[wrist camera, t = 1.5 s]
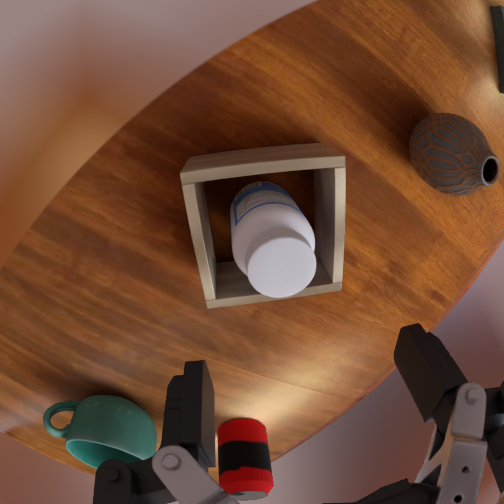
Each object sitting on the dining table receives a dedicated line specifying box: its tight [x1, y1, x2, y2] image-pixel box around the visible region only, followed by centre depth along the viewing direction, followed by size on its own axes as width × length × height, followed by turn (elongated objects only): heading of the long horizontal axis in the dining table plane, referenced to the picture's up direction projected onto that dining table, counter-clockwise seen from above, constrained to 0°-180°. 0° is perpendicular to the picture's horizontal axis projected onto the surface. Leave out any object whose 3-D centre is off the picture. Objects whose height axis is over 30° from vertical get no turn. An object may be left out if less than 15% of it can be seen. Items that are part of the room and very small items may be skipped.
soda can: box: [218, 419, 274, 501], centre depth 37 cm, size 8×8×12 cm
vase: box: [409, 113, 500, 196], centre depth 20 cm, size 7×7×9 cm
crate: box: [180, 143, 346, 308], centre depth 23 cm, size 11×11×6 cm
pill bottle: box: [230, 181, 316, 298], centre depth 21 cm, size 6×5×10 cm
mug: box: [43, 395, 157, 469], centre depth 33 cm, size 17×13×10 cm
